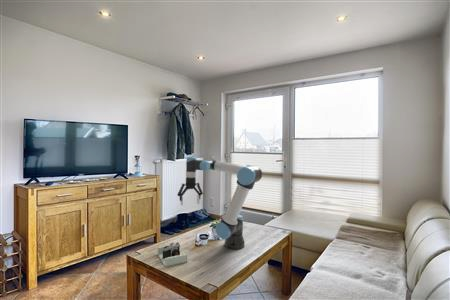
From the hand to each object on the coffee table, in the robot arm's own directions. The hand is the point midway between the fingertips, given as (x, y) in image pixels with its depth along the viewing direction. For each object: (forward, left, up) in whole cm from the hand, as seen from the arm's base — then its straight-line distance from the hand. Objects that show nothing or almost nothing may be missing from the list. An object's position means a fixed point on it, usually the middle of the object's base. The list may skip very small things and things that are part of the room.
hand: (190, 204), depth 186 cm
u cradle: (+21, +22, -29) cm, 42 cm away
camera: (+20, +22, -28) cm, 41 cm away
